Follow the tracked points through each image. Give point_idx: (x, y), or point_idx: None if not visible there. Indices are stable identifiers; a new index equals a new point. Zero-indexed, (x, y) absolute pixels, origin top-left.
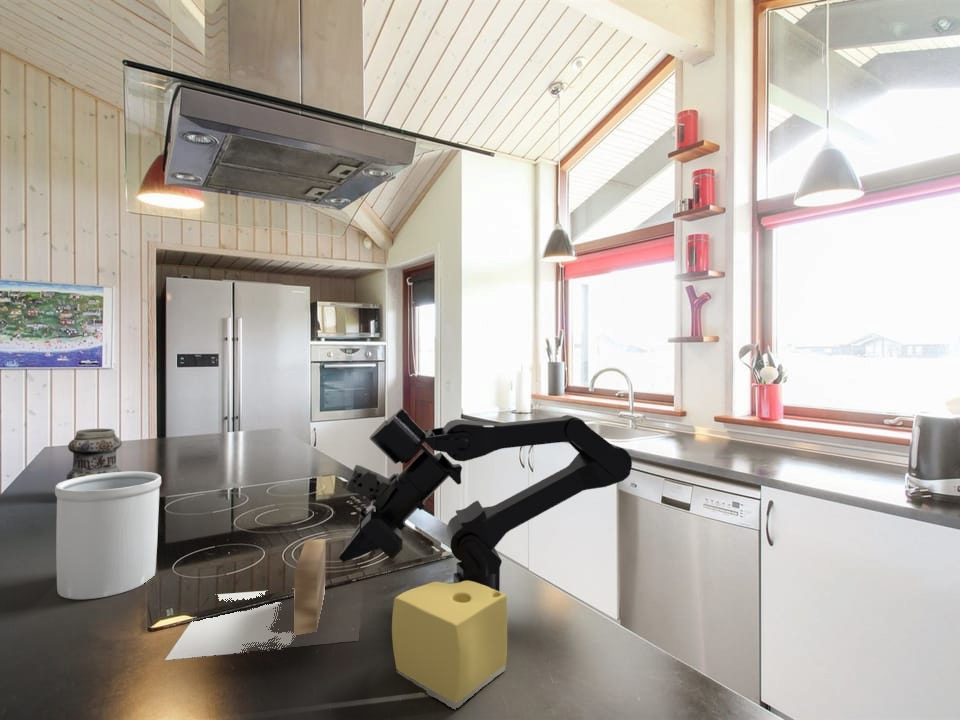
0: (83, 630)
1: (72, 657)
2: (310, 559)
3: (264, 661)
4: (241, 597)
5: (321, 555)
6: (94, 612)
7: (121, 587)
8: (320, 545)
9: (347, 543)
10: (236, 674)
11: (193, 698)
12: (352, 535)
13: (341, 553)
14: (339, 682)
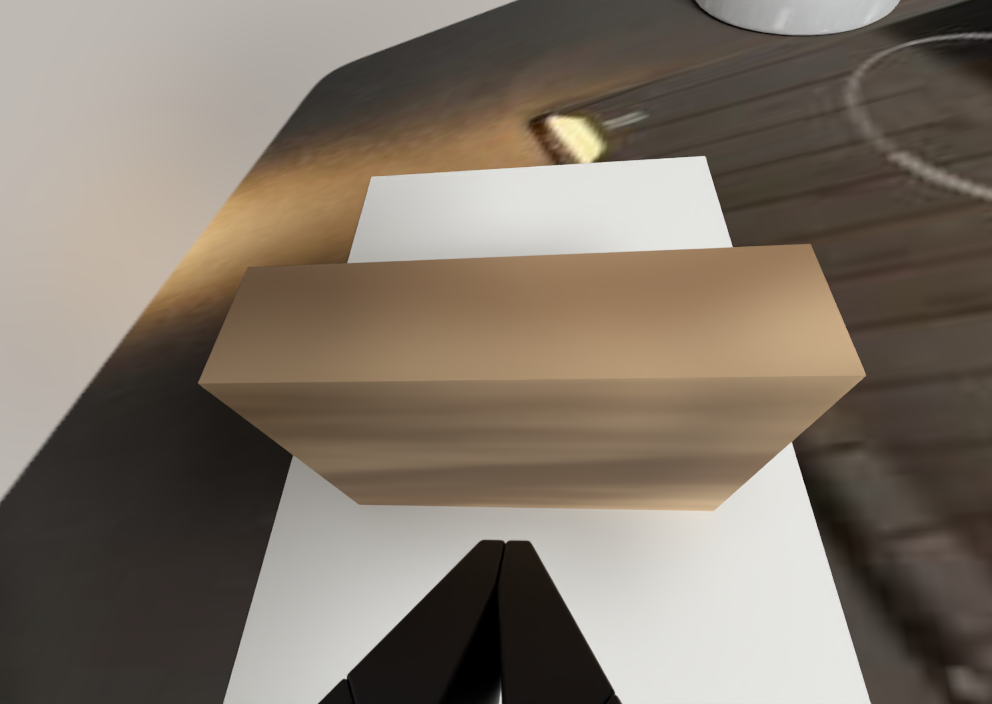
0: (558, 42)
1: (457, 67)
2: (389, 323)
3: None
4: (686, 228)
5: (497, 388)
6: (634, 26)
7: (730, 8)
8: (684, 354)
9: (538, 614)
10: None
11: (214, 266)
12: (587, 696)
13: (490, 554)
14: (45, 615)
